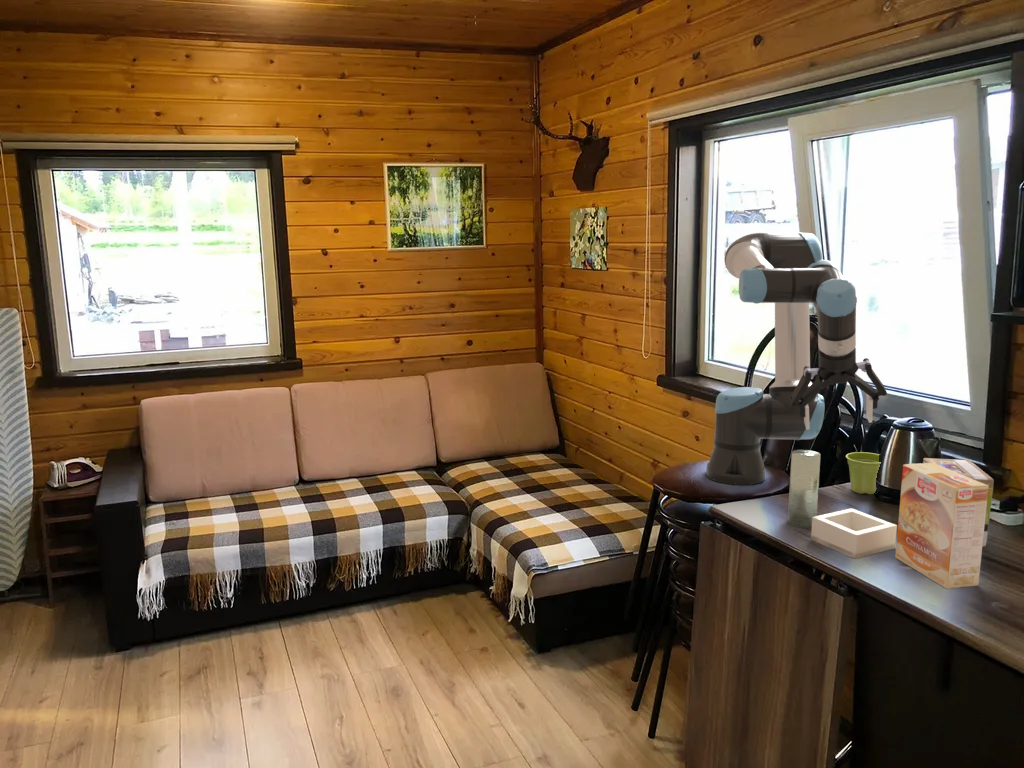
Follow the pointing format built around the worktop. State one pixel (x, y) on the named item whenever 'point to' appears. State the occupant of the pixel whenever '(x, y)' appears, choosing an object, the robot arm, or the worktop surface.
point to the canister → (803, 487)
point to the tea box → (974, 473)
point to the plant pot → (863, 471)
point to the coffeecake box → (941, 524)
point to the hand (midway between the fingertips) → (837, 422)
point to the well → (853, 533)
